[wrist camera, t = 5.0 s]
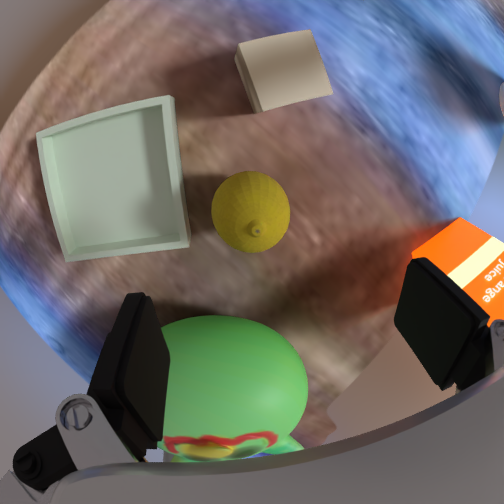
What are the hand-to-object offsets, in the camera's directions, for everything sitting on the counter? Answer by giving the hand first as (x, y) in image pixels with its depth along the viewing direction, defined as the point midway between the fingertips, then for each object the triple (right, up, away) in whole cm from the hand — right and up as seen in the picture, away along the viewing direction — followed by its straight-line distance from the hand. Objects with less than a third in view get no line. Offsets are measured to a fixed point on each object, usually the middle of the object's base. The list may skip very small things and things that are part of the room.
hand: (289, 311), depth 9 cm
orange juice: (+22, +1, +20) cm, 30 cm away
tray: (-13, +8, +12) cm, 19 cm away
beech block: (0, +16, +10) cm, 19 cm away
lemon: (-2, +7, +14) cm, 16 cm away
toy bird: (-6, -9, +22) cm, 24 cm away
